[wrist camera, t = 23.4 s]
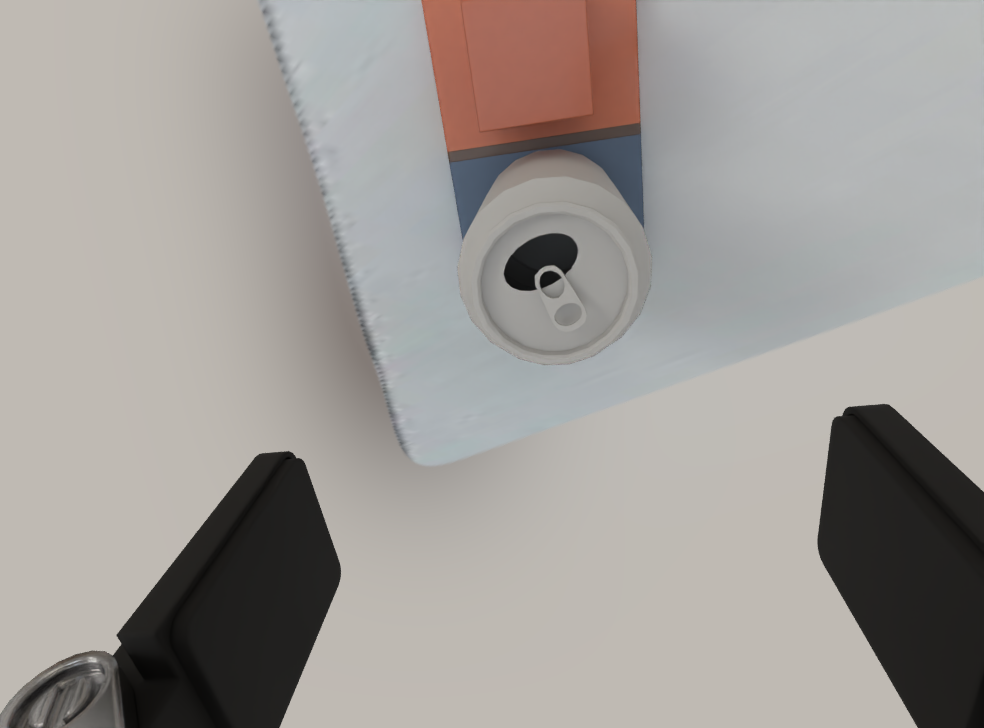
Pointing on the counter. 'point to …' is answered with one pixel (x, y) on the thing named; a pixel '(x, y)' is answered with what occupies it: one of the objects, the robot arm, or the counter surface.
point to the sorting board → (597, 137)
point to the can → (554, 260)
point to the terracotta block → (528, 61)
